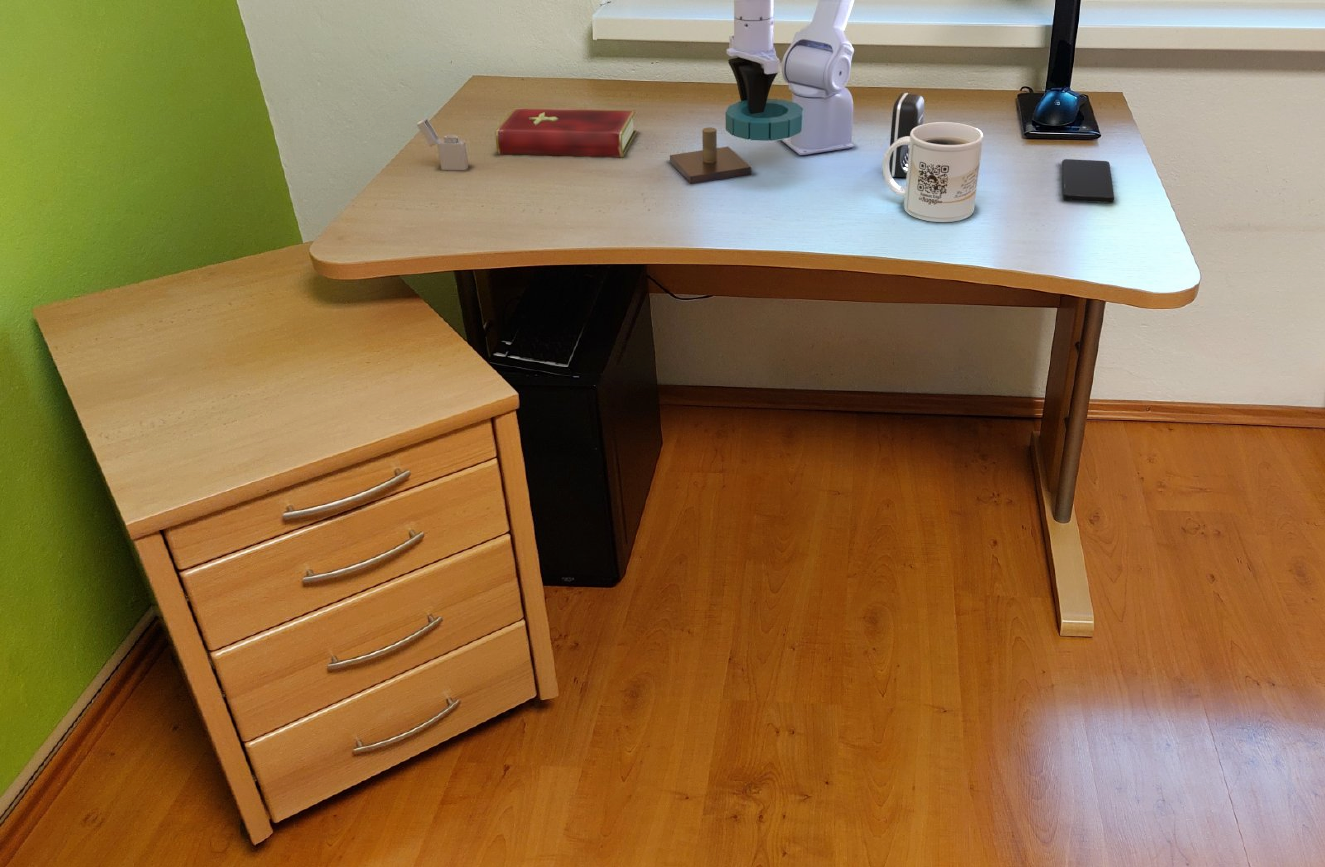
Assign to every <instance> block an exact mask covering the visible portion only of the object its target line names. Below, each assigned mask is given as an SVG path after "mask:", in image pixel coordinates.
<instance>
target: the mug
mask: <svg viewBox="0 0 1325 867" xmlns="http://www.w3.org/2000/svg"><path fill="white" fill-rule="evenodd" d="M983 141H984V134H983V132H982V131H981V130H980V129H979V128H976V127H975V126H972V125H969V124H965V123H959V122H953V121H952V122H950V121H937V122H936V121H935V122H929V123H923V125H919V126H917V127H915V128H913V129H912V131H911V132H910V136H906V137H902V138H899V139H898V140H896V141H895V142H894V143H893V144H892V145H891V146H890V145H889V147H888V149H887V150H886V152H885V154H884V155H883V160H882V167H881V168H882V176H883V180H884V182H885V183H886V186H887V187H888V189H889V190H891V192H892V193H894V194H895V195H898V196H900V197H904V201H903V209H904V211H905V213H907V214H908V215H910V216H911V217H913V218H916V219H919V220H922V221H927V222H933V223H951V222H952V223H953V222H958V221H963V220H965V219H967V218H969V217H971V216H972V214H973V213H974V211H975V207H976V206H975V205H976V197H977V190H978V189H977V188H978V181H979V173H980V166H981V159H982V158H981V157H982V149H983ZM901 145H908V147H909V154H908V165H907V176H906V177H905V187H903V186H901V185H900V184H898V183H897V182H896V181H895V180H894V177H892V176H891V174H890V169H889V162H890V157H891V154H892V152H893V151H894V149H896V148H897V147H899V146H901Z"/></svg>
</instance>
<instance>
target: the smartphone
mask: <svg viewBox="0 0 1325 867" xmlns="http://www.w3.org/2000/svg"><path fill="white" fill-rule="evenodd" d="M1112 178H1113V177H1112V170H1111V165H1110V162H1109V161H1107V160H1094V159H1093V160H1091V159H1073V158H1068V159H1067V158H1065V159H1062V161H1061V179H1062V180H1061V182H1062V198H1063V200H1065V201H1075V202H1089V203H1090V202H1093V203H1113V202H1114V201H1115V195H1114V186H1113V179H1112Z"/></svg>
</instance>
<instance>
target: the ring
mask: <svg viewBox="0 0 1325 867" xmlns="http://www.w3.org/2000/svg"><path fill="white" fill-rule="evenodd" d="M803 110H804V109H803V108H802V107H801V106H799V105H798V104H797V103H794V102H792V101H789V100H787V99H778V98H767V102H766V106H765V109H764V112H762V113H755V114H751V113H750V112H749V108H748V101H747V100H744V101H742V102H741V100H740V101H737V102H735V103H732V104H730V105H729V106H727V108H726V110H725V113H724V114H725V131H726V132H727V133H728V134H730V135H731V136H732V137H735V138H740V139H744V140H748V141H749V140H750V141H760V142H761V141H762V142H763V141H766V142H769V141H778V140H782V139H785V138H788V137H789V138H790V137H792V136H794V135H796V134H798V133H800V132H801V131H802V127H803Z"/></svg>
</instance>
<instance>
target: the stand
mask: <svg viewBox="0 0 1325 867" xmlns="http://www.w3.org/2000/svg"><path fill="white" fill-rule="evenodd" d="M717 131H718V130H717V128H715V127H704V128H702V130H701V133H702V134H701V137H702V138H701V139H702V141H701V142H702V150H695V151H694V150H693V151H688V152H682V153H675V154H670V155H669V163H670V164H671V165H672V166H673V167H674V169H676V170H677V172H678V173H680V175H681V176H682V177H683V178H684V179H685V180H686V181H687V182H688V183H689V184H690V185H693V184H697V183H703V182H710V181H717V180H723V179H729V178H735V177H741V176H742V177H743V176H748V175H752V166H751V165H749V163H747V162H746V161H745V160H744V159H743V158H742V157H740V155H738V153H736V152H735V150H733V149H732V148H731V147H730V146H722V147H718V144H717V143H718V141H717V140H718V138H717V134H718V133H717Z"/></svg>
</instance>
